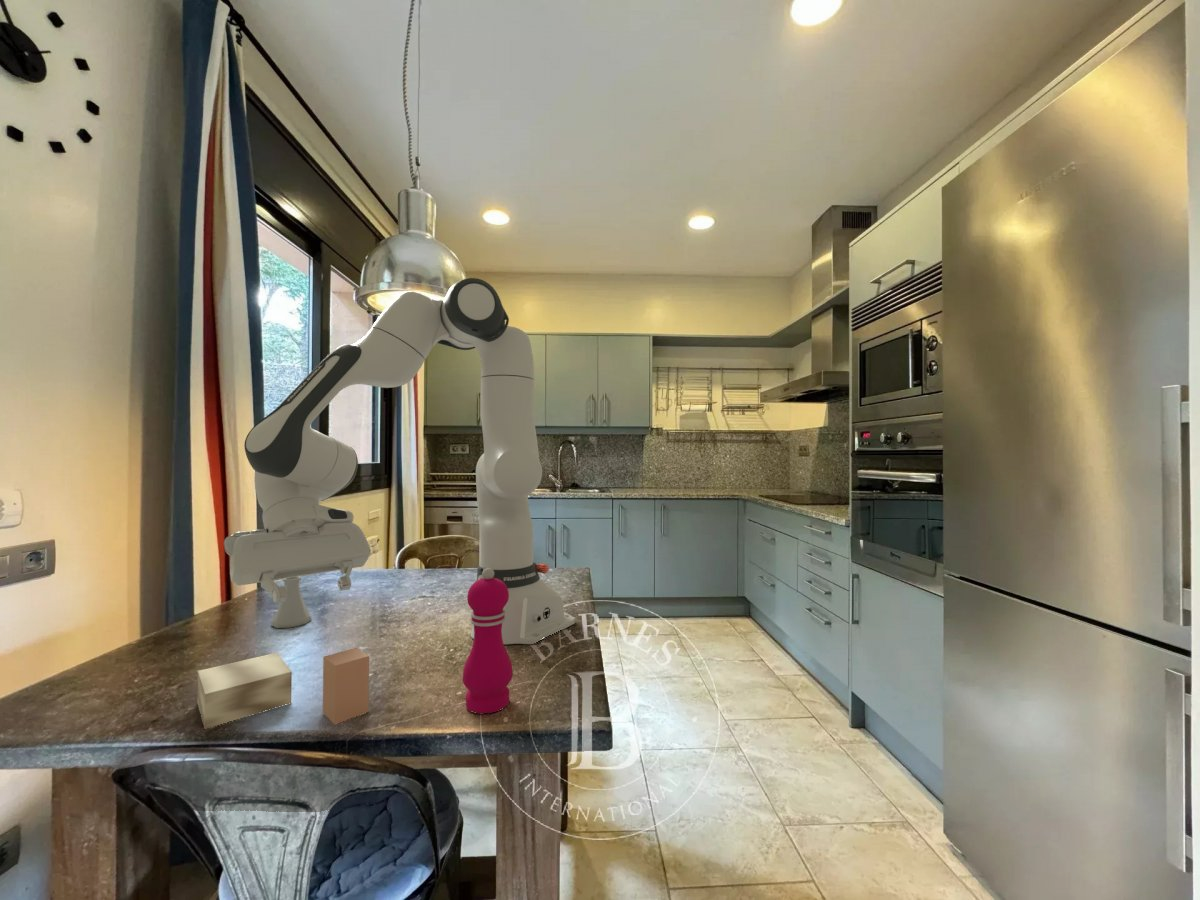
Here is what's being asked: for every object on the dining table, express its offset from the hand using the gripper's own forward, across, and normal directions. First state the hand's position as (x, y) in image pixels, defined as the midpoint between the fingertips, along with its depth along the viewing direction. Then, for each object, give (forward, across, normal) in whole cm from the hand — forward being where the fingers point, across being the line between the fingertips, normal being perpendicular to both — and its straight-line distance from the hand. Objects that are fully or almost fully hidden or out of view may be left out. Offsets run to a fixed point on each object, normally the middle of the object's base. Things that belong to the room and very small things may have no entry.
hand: (314, 593), depth 79 cm
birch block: (+10, -9, +11) cm, 17 cm away
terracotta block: (+19, 0, +1) cm, 19 cm away
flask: (-15, +7, +36) cm, 40 cm away
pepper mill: (+29, +15, -8) cm, 33 cm away
